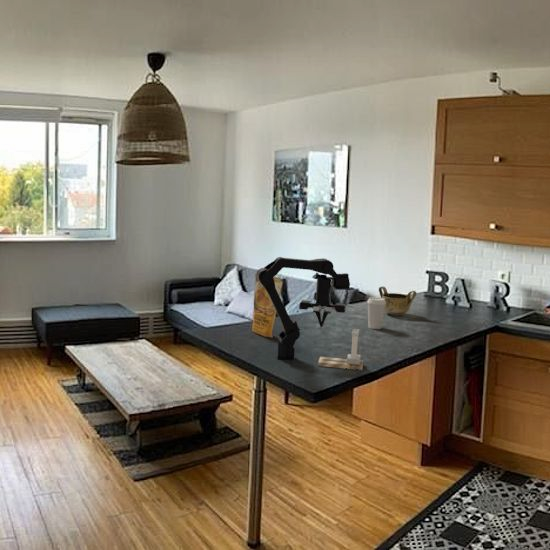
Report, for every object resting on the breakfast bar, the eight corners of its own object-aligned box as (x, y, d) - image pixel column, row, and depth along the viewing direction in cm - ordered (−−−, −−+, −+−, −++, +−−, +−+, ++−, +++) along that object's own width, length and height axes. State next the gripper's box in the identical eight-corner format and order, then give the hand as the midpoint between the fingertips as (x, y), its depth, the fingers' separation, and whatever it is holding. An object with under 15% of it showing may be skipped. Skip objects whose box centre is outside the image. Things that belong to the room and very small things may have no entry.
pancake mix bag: (258, 328, 299) (260, 272, 295) (281, 337, 284) (284, 278, 280) (246, 330, 295) (249, 272, 291) (269, 339, 280) (272, 278, 276)
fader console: (317, 365, 242) (318, 362, 242) (320, 360, 251) (320, 356, 250) (362, 370, 240) (362, 366, 239) (363, 364, 248) (363, 360, 247)
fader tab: (346, 363, 241) (348, 332, 239) (347, 358, 248) (349, 328, 246) (359, 364, 240) (361, 333, 238) (360, 359, 247) (362, 329, 245)
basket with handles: (419, 315, 347) (422, 289, 344) (406, 320, 333) (408, 293, 331) (384, 309, 360) (386, 284, 358) (370, 313, 347) (372, 287, 345)
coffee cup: (383, 326, 317) (385, 297, 314) (384, 330, 307) (387, 301, 305) (364, 324, 318) (366, 296, 315) (365, 329, 308) (367, 299, 306)
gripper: (347, 288, 257) (345, 324, 259) (303, 284, 260) (301, 320, 262) (345, 292, 246) (343, 330, 248) (300, 289, 249) (298, 326, 251)
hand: (321, 326), depth 253 cm, fingers closed
